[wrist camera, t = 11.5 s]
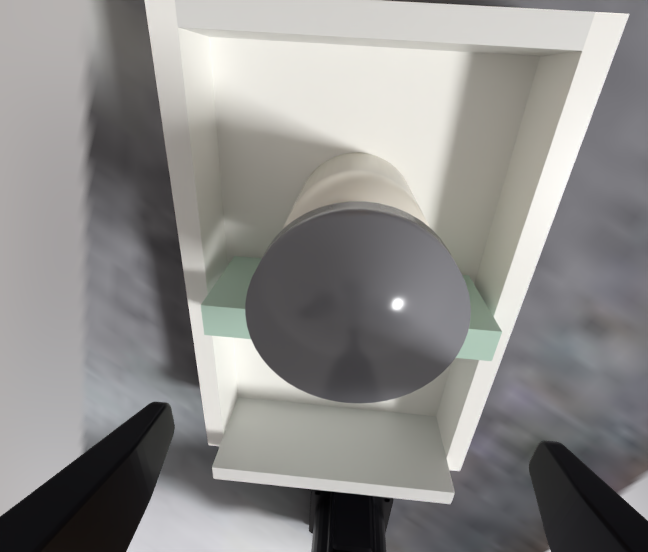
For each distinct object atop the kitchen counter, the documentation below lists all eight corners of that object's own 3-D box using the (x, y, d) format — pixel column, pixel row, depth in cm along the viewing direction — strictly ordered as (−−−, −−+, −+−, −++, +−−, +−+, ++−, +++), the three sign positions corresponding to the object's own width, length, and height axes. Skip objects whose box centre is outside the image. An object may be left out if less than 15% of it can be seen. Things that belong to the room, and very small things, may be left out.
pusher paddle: (455, 325, 20) (481, 389, 16) (237, 306, 20) (208, 364, 16) (469, 275, 18) (502, 331, 14) (234, 256, 19) (200, 305, 15)
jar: (406, 269, 19) (445, 411, 11) (294, 261, 19) (250, 394, 11) (426, 152, 16) (498, 225, 8) (295, 145, 16) (237, 208, 8)
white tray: (445, 416, 25) (469, 506, 20) (228, 394, 26) (195, 476, 20) (562, 30, 15) (681, 0, 9) (191, 9, 15) (104, -29, 10)
